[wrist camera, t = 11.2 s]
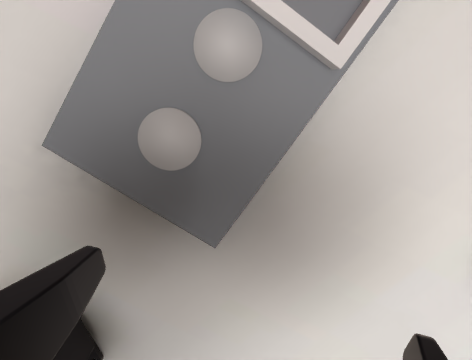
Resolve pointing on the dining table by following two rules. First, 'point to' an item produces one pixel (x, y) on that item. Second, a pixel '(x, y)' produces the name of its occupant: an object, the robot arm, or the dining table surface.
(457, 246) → the dining table surface
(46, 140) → the station board
